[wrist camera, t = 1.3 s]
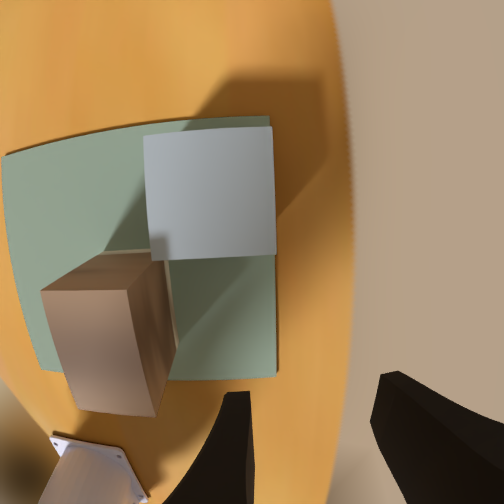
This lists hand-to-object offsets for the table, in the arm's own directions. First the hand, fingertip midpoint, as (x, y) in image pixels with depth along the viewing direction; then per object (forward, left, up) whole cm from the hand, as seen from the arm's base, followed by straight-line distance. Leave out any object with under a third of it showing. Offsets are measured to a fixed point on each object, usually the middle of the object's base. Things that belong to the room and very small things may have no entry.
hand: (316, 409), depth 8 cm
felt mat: (+2, +9, -10) cm, 14 cm away
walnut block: (0, +8, -10) cm, 13 cm away
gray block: (+6, +3, -10) cm, 12 cm away
